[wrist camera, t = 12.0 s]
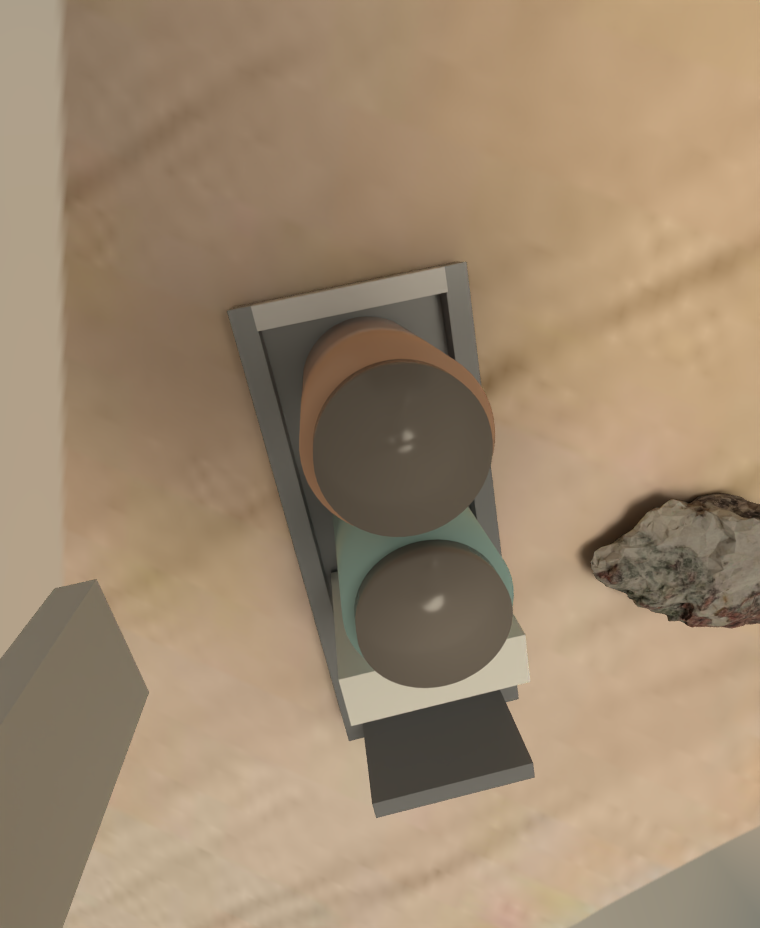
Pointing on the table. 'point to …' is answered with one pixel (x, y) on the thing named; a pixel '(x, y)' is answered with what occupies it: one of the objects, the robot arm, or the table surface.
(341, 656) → the pusher
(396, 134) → the table surface
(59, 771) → the robot arm
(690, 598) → the mineral rock
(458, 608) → the jar teal
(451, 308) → the lane
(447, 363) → the jar terracotta
